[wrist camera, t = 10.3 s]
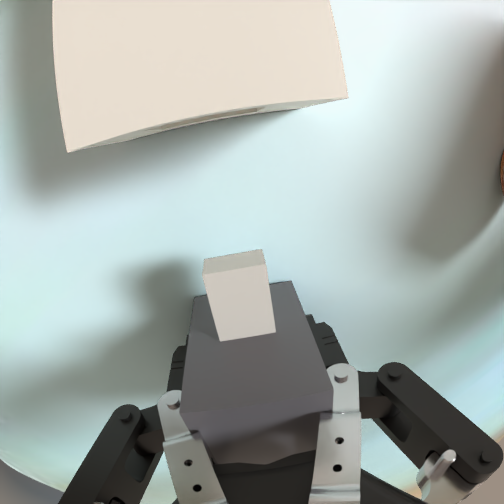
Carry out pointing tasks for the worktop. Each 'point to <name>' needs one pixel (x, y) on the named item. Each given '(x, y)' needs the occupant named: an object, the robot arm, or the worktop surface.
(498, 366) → the worktop surface
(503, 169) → the tin
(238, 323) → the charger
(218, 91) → the power strip
